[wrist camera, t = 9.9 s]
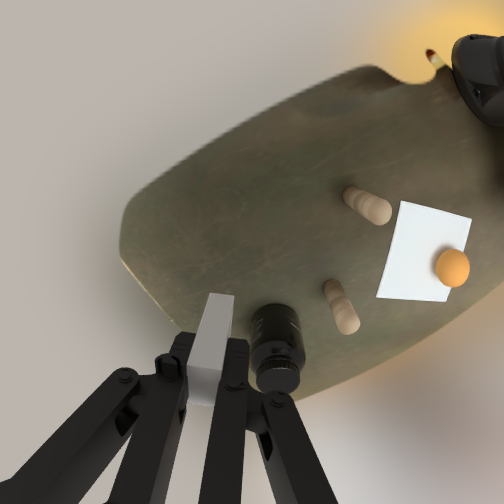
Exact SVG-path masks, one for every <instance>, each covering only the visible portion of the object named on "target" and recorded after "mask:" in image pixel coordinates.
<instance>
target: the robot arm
mask: <svg viewBox="0 0 504 504" xmlns="http://www.w3.org/2000/svg"><path fill="white" fill-rule="evenodd" d="M451 57H452V58H451V60H452V69H453V73H454V77H455V80H456V83H457V86H458V88H459V90H460V92H461V94H462V96H463V98H464V100H465V102H466V103H467V105H468V106H469V108H470V109H471V110H472V111H473V113H474V114H475V115H476V116H477V117H478V118H479V119H480V120H482V121H483V122H485V123H486V124H488V125H491V126H504V36H501V37H495V36H486V35H478V34H471V35H467V36H465V37H462V38H460V39H458V40H457V41H456V42H455V44H454V46H453V49H452V56H451ZM233 305H234V296H232V295H224V294H217V293H210V295H209V298H208V301H207V304H206V307H205V310H204V313H203V316H202V319H201V322H200V325H199V328H198V331H197V334H195V333H189V332H180V333H179V334H178V335H177V336H176V337H175V340H174V342H173V344H172V347H171V349H170V351H169V353H166V354H161V355H160V356H158V357H157V358H156V359H155V367H156V373H155V374H152V375H138V373H137V372H136V371H135V370H134V369H131V368H119V369H117V370H116V371H114V372H113V373H112V374H111V375H110V376H109V377H108V378H107V379H106V380H105V381H104V382H103V383H102V384H101V385H100V386H99V387H98V388H97V389H96V390H95V391H94V392H93V393H92V394H91V395H90V396H89V397H88V398H87V399H86V400H85V402H83V404H82V405H81V406H80V407H79V408H78V409H77V410H76V411H75V412H74V413H73V414H72V415H71V416H70V417H69V418H68V419H67V420H66V421H65V422H64V423H63V424H62V425H61V426H60V427H59V428H58V429H57V430H56V431H55V432H54V434H53V435H52V436H51V437H50V438H49V439H48V440H47V441H46V442H45V443H44V444H43V445H42V446H41V447H40V448H39V449H38V450H37V451H36V452H35V453H34V454H33V456H32V457H31V458H30V459H29V460H28V461H27V462H26V463H25V464H24V465H23V466H22V467H21V468H20V469H19V470H18V471H17V472H16V474H15V475H14V476H13V477H12V478H10V479H8V480H5V481H3V482H0V504H78V503H79V502H80V501H81V499H82V498H83V497H84V495H85V494H86V493H87V492H88V490H89V489H90V488H91V486H92V485H93V484H94V483H95V481H96V480H97V478H98V477H99V476H100V475H101V474H102V472H103V471H104V470H105V468H106V467H107V466H108V464H109V463H110V462H111V460H112V459H113V458H114V457H115V455H116V454H117V453H118V451H119V450H120V449H121V447H122V446H123V445H124V443H125V442H126V441H127V439H128V438H129V437H130V435H131V434H132V435H131V438H130V441H129V443H128V446H127V449H126V451H125V454H124V457H123V459H122V462H121V465H120V468H119V471H118V473H117V476H116V479H115V482H114V485H113V488H112V491H111V494H110V497H109V499H108V501H107V502H106V503H104V504H165V499H166V495H167V491H168V486H169V482H170V478H171V473H172V469H173V465H174V461H175V456H176V452H177V448H178V444H179V439H180V436H181V432H182V428H183V424H184V420H185V415H186V404H187V400H188V403H191V404H196V405H203V406H210V407H214V412H213V417H212V424H211V429H210V435H209V441H208V447H207V453H206V459H205V465H204V471H203V477H202V483H201V489H200V495H199V502H198V504H241V490H242V476H243V461H244V446H245V430H249V431H252V432H254V433H255V434H256V438H257V441H258V445H259V448H260V452H261V455H262V458H263V462H264V465H265V469H266V472H267V475H268V478H269V482H270V485H271V488H272V491H273V494H274V498H275V501H276V504H338V502H337V500H336V497H335V495H334V493H333V491H332V488H331V486H330V484H329V482H328V480H327V477H326V475H325V473H324V470H323V468H322V466H321V464H320V461H319V459H318V457H317V455H316V452H315V450H314V448H313V445H312V443H311V441H310V439H309V436H308V434H307V432H306V429H305V427H304V425H303V422H302V420H301V418H300V415H299V413H298V411H297V408H296V406H295V403H294V401H293V399H292V398H291V396H290V395H289V394H287V393H286V392H283V391H279V390H274V391H270V392H268V393H267V394H265V393H262V392H259V391H257V390H255V389H254V388H252V387H251V386H250V384H249V382H248V369H249V353H250V345H249V344H248V342H247V340H244V339H236V338H230V334H231V325H232V315H233Z"/></svg>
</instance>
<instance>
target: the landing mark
mask: <svg viewBox="0 0 504 504" xmlns="http://www.w3.org/2000/svg"><path fill="white" fill-rule="evenodd" d="M471 220H472V219H470V218H466V217H463V216H459V215H456V214H452V213H449V212H445V211H441V210H438V209H434V208H430V207H426V206H422V205H418V204H414V203H410V202H405V201H401V202H400V207H399V212H398V216H397V221H396V225H395V229H394V233H393V238H392V242H391V245H390V249H389V253H388V257H387V260H386V264H385V267H384V271H383V274H382V278H381V281H380V284H379V287H378V291H377V294H376V297H381V298H394V299H409V300H425V301H443V302H446V300H447V297H448V295H449V292H450V289H451V287H447V286H445V285H444V284H442V283H441V281H440V280H439V279H438V276H437V273H436V264H437V261H438V259H439V257H440V255H441V254H442V253H443V252H445V251H447V250H449V249H457V250H460V251H461V252H463V250H464V247H465V243H466V240H467V236H468V232H469V228H470V224H471Z"/></svg>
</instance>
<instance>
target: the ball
mask: <svg viewBox="0 0 504 504" xmlns="http://www.w3.org/2000/svg"><path fill="white" fill-rule="evenodd" d="M469 271H470V265H469V261H468V258H467V257H466V255H465V254H464V253H463V252H461V251H460V250H457V249H449V250H447V251H445V252H443V253H442V254H441V255H440V257H439V259H438V261H437V264H436V273H437V276H438V279H439V280H440V281H441V283H442V284H444V285H445V286H447V287H458V286H460V285H461V284H463V283H464V282H465V281H466V279H467V277H468V275H469Z"/></svg>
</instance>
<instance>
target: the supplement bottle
mask: <svg viewBox="0 0 504 504" xmlns="http://www.w3.org/2000/svg"><path fill="white" fill-rule="evenodd" d="M305 361H306V356H305V349H304V344H303V338H302V332H301V327H300V322H299V319H298V316H297V315H296V313H295V312H294V311H293V310H292V309H290V308H288V307H286V306H283V305H269V306H266V307H264V308H262V309H260V310H259V311H258V312H257V313H256V314H255V316H254V317H253V320H252V324H251V335H250V353H249V366H250V368H251V370H252V372H253V373H254V374H255V375H256V384H257V387H258V388H259V390H261V392H263V393H265V394H267V393H268V392H270V391H274V390H279V391H283V392H286V393H287V394H290V393H291V392H293V391H294V390H296V389H297V387H298V385H299V384H300V372H301V371H302V369H303V367H304V365H305Z"/></svg>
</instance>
